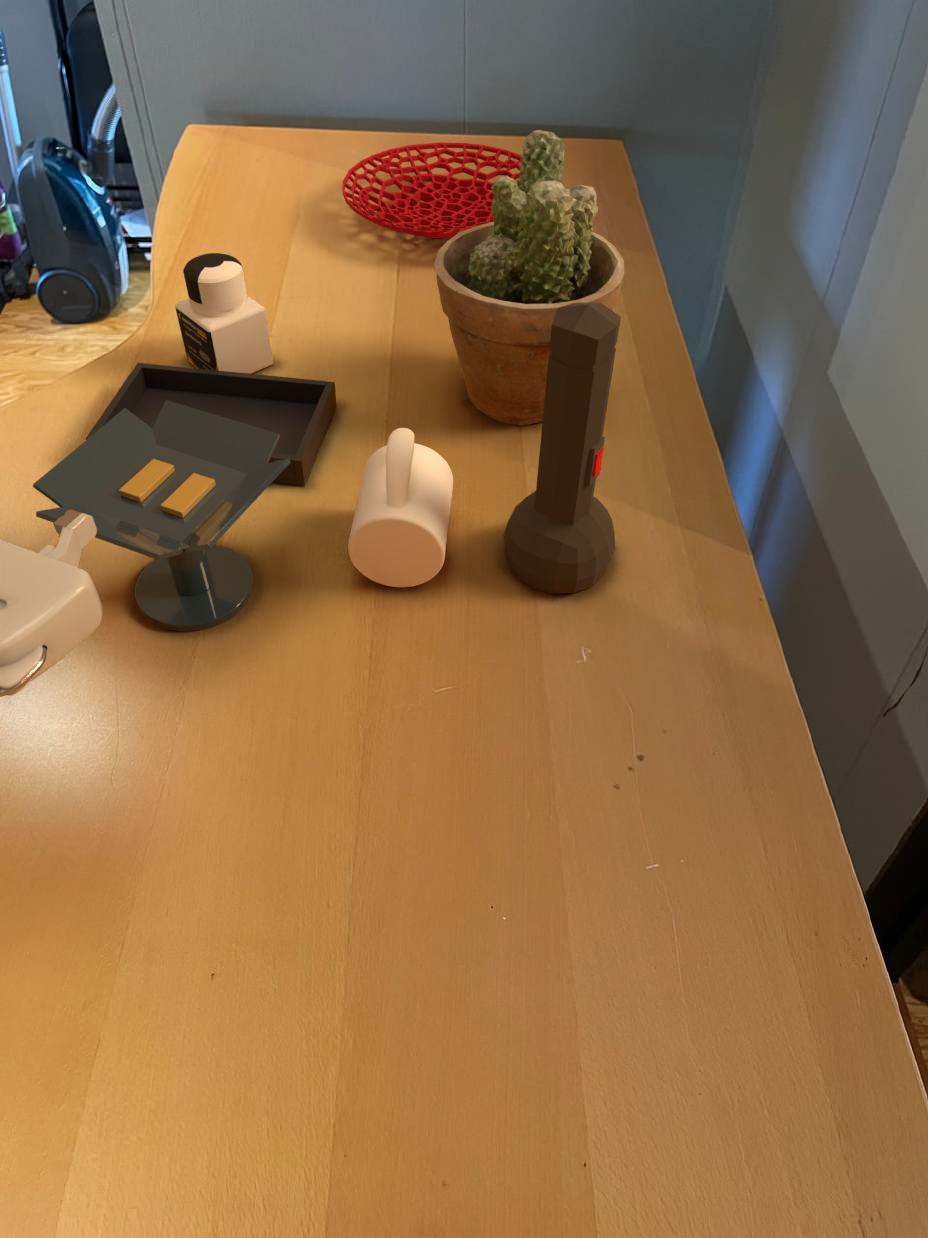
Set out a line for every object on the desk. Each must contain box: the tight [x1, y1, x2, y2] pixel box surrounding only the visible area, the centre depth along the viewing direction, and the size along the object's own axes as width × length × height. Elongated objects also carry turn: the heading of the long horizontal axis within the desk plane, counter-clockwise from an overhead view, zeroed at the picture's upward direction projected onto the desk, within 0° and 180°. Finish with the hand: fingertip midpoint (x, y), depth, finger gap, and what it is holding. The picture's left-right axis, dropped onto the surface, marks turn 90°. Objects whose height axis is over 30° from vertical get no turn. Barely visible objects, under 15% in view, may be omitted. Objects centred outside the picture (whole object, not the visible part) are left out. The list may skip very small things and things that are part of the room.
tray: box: [85, 362, 338, 487], centre depth 96 cm, size 22×14×3 cm, turn 82°
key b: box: [160, 473, 216, 518], centre depth 73 cm, size 4×2×1 cm, turn 156°
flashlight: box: [503, 303, 622, 595], centre depth 76 cm, size 10×25×10 cm
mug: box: [347, 427, 454, 588], centre depth 81 cm, size 8×10×12 cm
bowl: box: [341, 141, 522, 239], centre depth 129 cm, size 29×30×5 cm
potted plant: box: [433, 129, 626, 427], centre depth 93 cm, size 18×19×25 cm
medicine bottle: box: [174, 252, 274, 374], centre depth 101 cm, size 7×7×12 cm
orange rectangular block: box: [119, 459, 175, 502], centre depth 74 cm, size 4×2×1 cm, turn 156°
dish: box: [32, 400, 290, 632], centre depth 77 cm, size 16×16×13 cm
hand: (26, 499), depth 60 cm, fingers open, 8 cm apart
